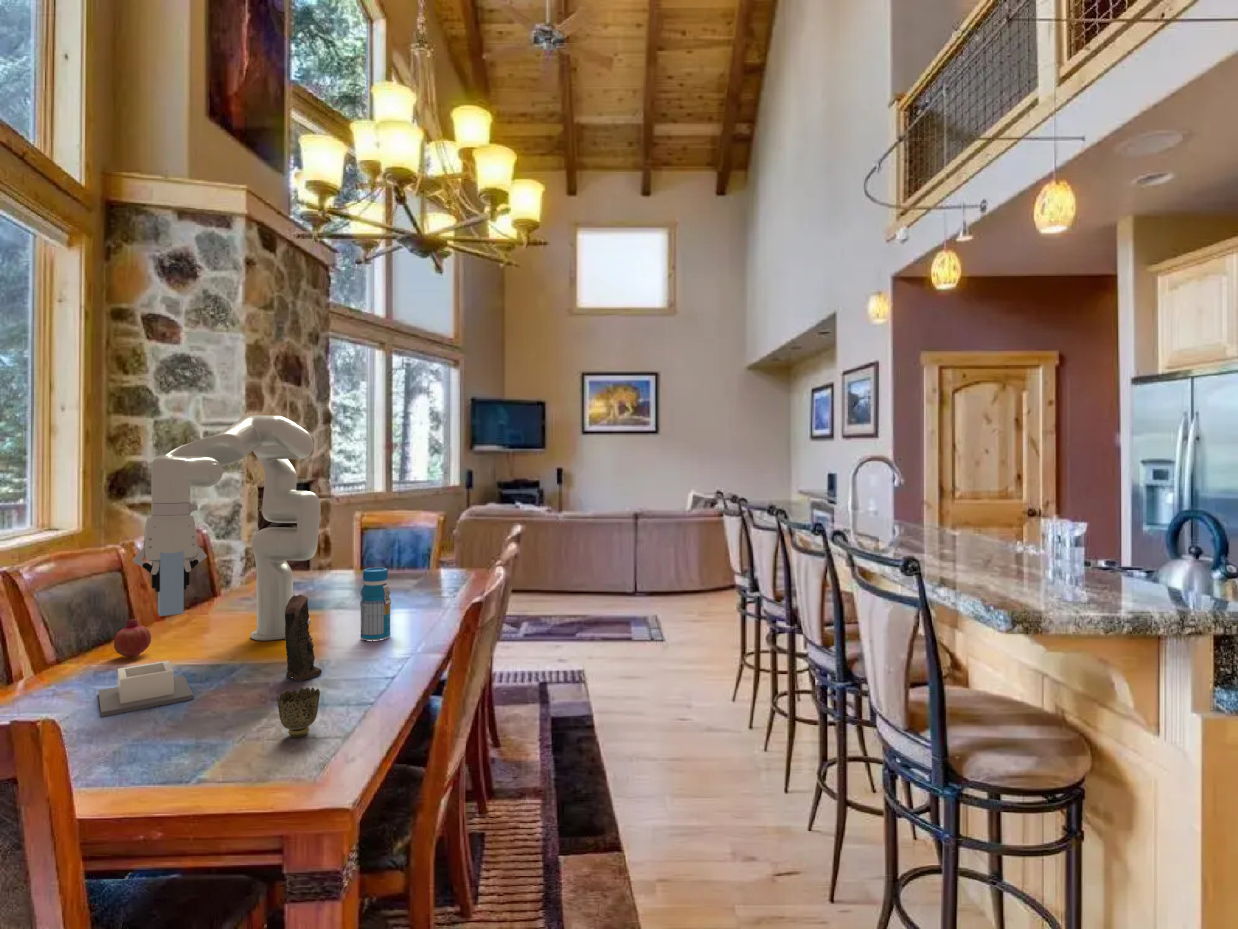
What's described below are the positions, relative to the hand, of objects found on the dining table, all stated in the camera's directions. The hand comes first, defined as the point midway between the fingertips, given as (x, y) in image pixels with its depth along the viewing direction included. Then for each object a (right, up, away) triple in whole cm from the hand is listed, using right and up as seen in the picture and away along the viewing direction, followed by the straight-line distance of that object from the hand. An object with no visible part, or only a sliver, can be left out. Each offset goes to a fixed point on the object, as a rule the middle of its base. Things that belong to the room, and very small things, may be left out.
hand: (170, 589), depth 157 cm
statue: (+27, -22, +6) cm, 36 cm away
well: (-1, -22, -7) cm, 24 cm away
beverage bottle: (+33, -22, +40) cm, 56 cm away
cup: (+42, -23, -27) cm, 55 cm away
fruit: (-24, -22, +21) cm, 39 cm away
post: (0, -6, 0) cm, 6 cm away
